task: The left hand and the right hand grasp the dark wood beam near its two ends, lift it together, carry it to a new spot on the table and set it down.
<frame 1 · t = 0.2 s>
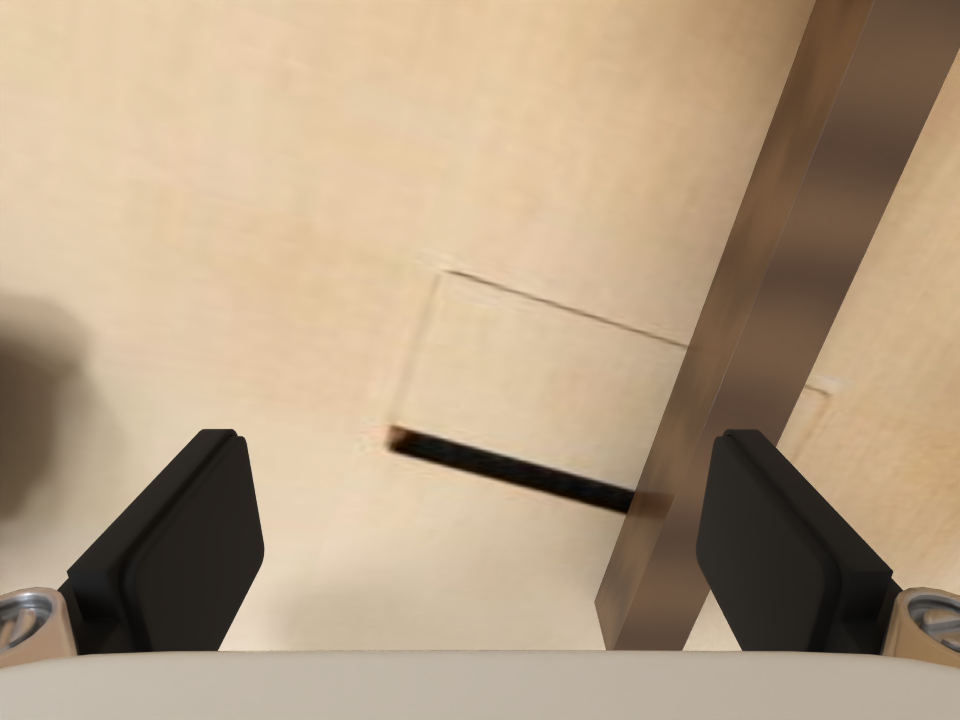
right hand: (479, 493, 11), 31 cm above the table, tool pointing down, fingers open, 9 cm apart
beam: (805, 142, 38), on the table
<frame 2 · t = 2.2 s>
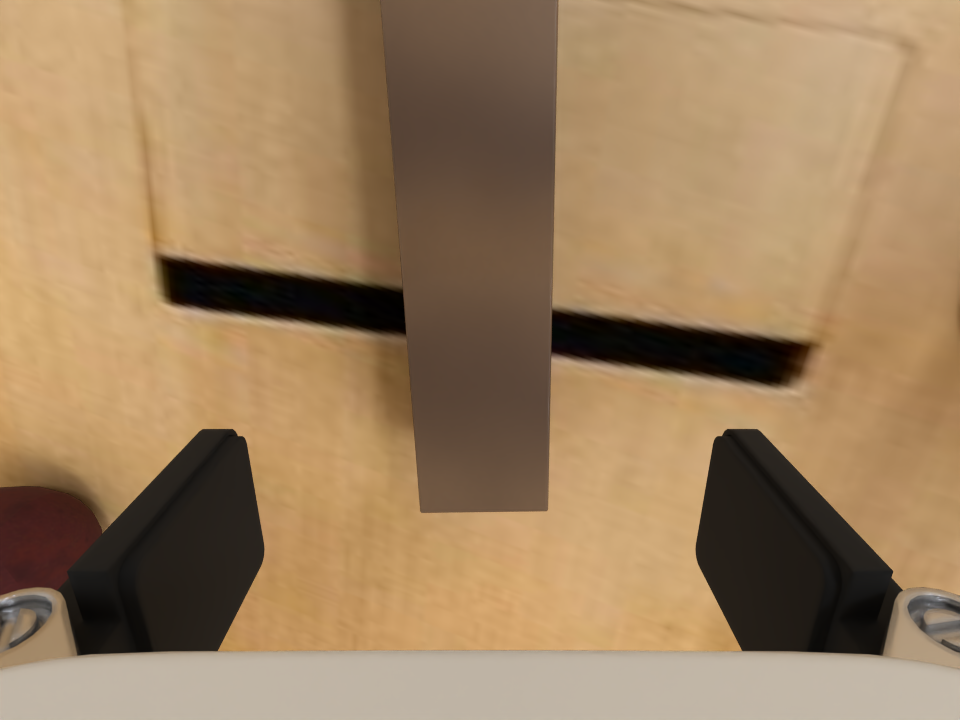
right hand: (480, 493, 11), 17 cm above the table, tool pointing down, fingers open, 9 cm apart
potato: (65, 512, 32), on the table
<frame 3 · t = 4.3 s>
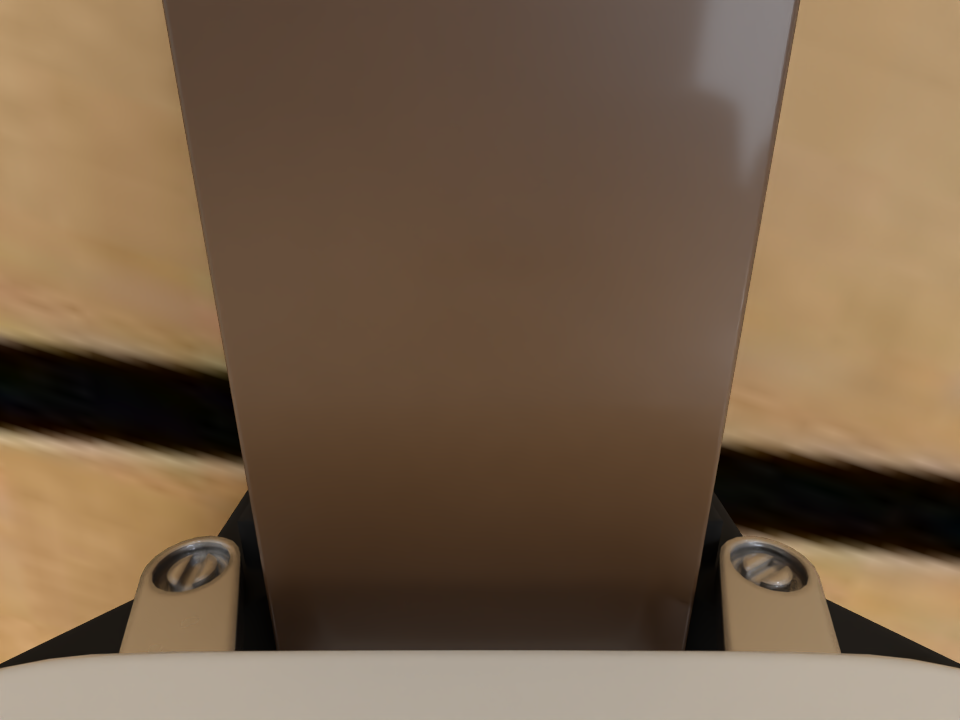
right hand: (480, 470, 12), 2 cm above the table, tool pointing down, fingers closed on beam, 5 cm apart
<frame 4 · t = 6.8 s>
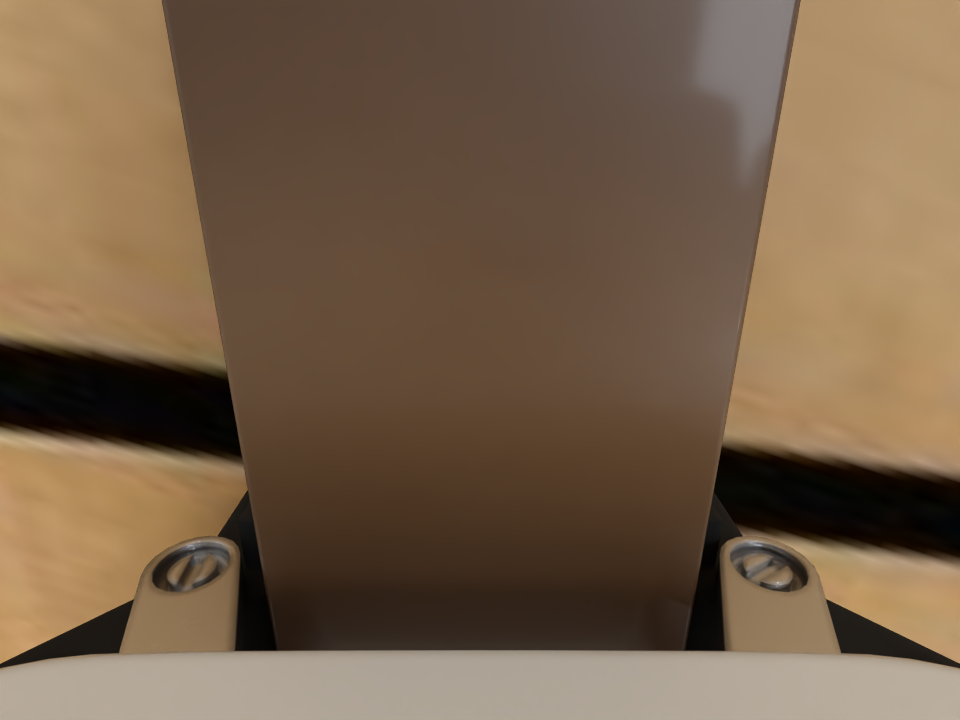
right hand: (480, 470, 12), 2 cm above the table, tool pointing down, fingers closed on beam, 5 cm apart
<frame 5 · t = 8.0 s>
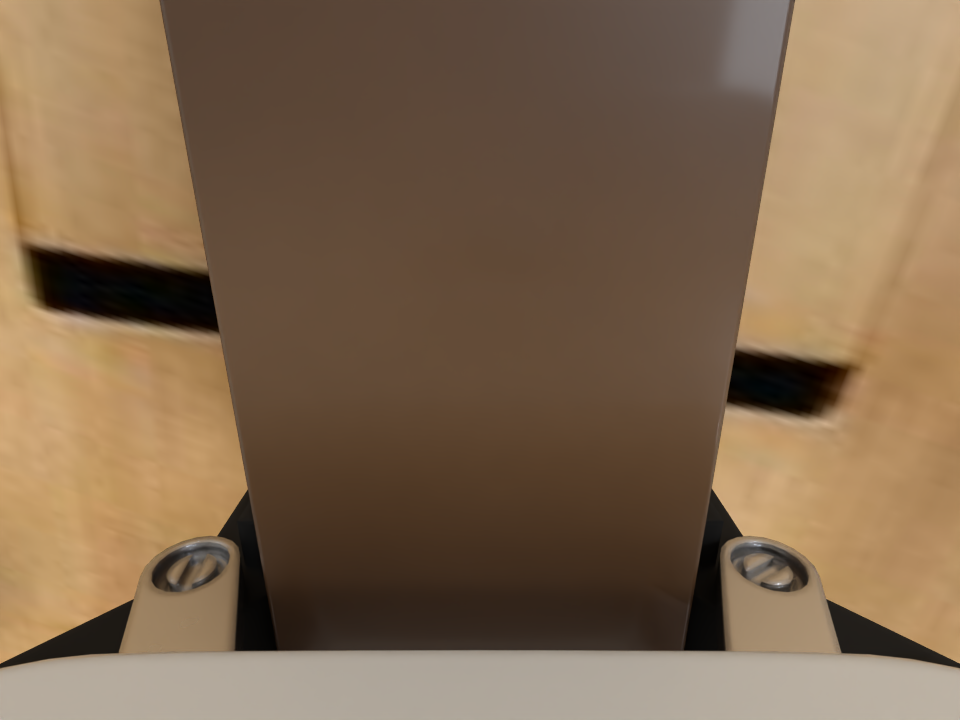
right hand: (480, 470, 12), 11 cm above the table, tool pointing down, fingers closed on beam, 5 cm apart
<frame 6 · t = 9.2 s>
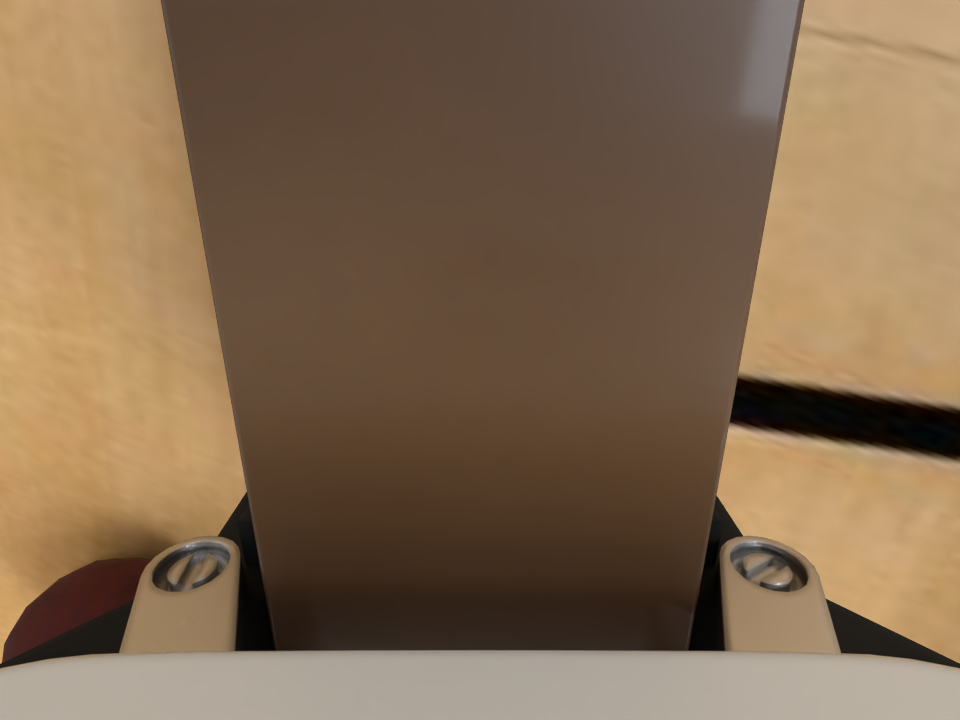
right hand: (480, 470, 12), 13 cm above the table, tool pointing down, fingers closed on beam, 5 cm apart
potato: (158, 581, 29), on the table
when the left hand's fingers open (3 cm above the table, at t = 11.9 s): beam drops 1 cm, on the table.
when the right hand's fingers open (3 cm above the table, at t = 11.9 s): beam drops 1 cm, on the table.
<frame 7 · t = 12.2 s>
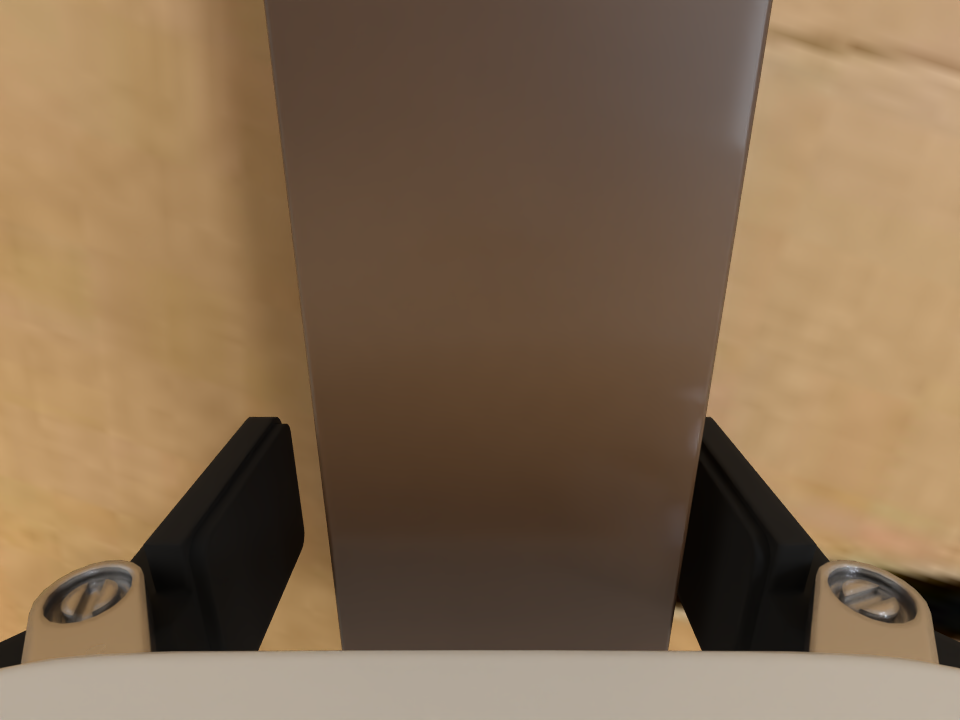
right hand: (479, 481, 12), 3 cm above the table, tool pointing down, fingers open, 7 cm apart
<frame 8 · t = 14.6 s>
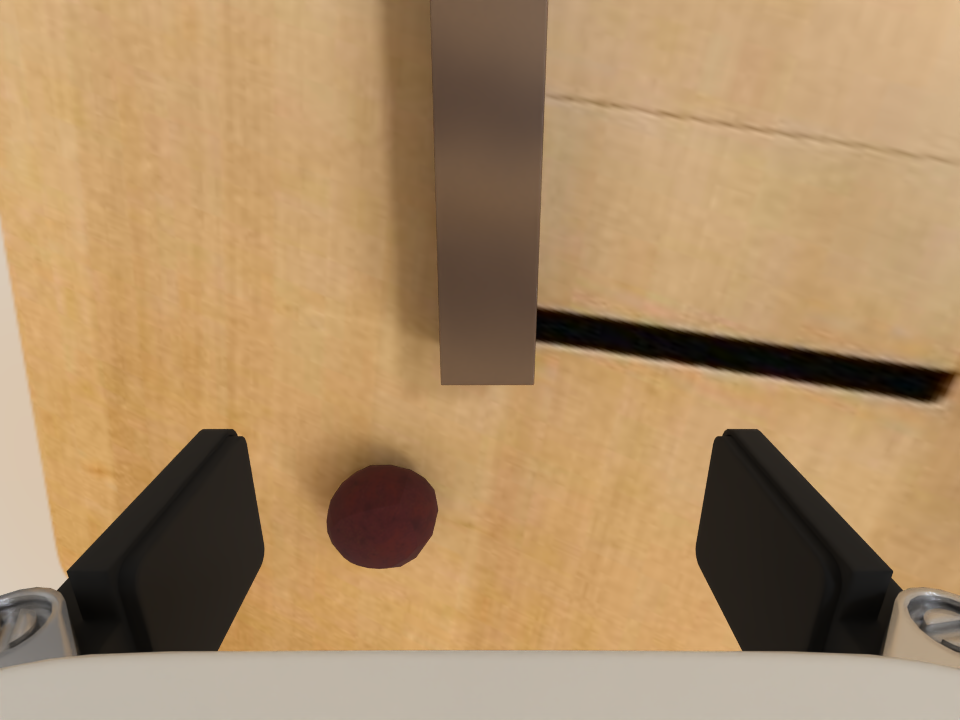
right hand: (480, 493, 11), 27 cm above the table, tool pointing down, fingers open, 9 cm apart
potato: (392, 486, 44), on the table
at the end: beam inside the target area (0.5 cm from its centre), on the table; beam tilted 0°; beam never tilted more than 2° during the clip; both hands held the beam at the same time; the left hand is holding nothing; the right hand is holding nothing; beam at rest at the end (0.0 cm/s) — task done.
